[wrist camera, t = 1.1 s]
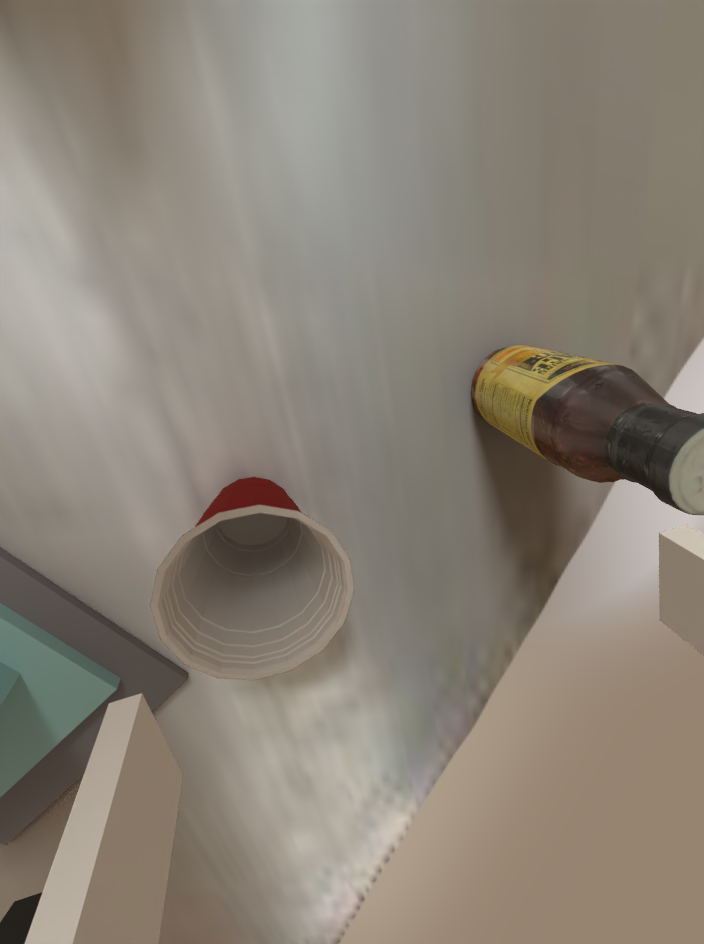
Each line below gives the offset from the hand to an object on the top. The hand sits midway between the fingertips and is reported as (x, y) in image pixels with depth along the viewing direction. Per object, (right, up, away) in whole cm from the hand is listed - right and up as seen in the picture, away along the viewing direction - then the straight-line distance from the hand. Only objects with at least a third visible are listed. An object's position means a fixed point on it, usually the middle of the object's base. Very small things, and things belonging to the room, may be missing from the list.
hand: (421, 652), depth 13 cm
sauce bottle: (+10, +11, +26) cm, 30 cm away
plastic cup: (-9, +2, +26) cm, 28 cm away
